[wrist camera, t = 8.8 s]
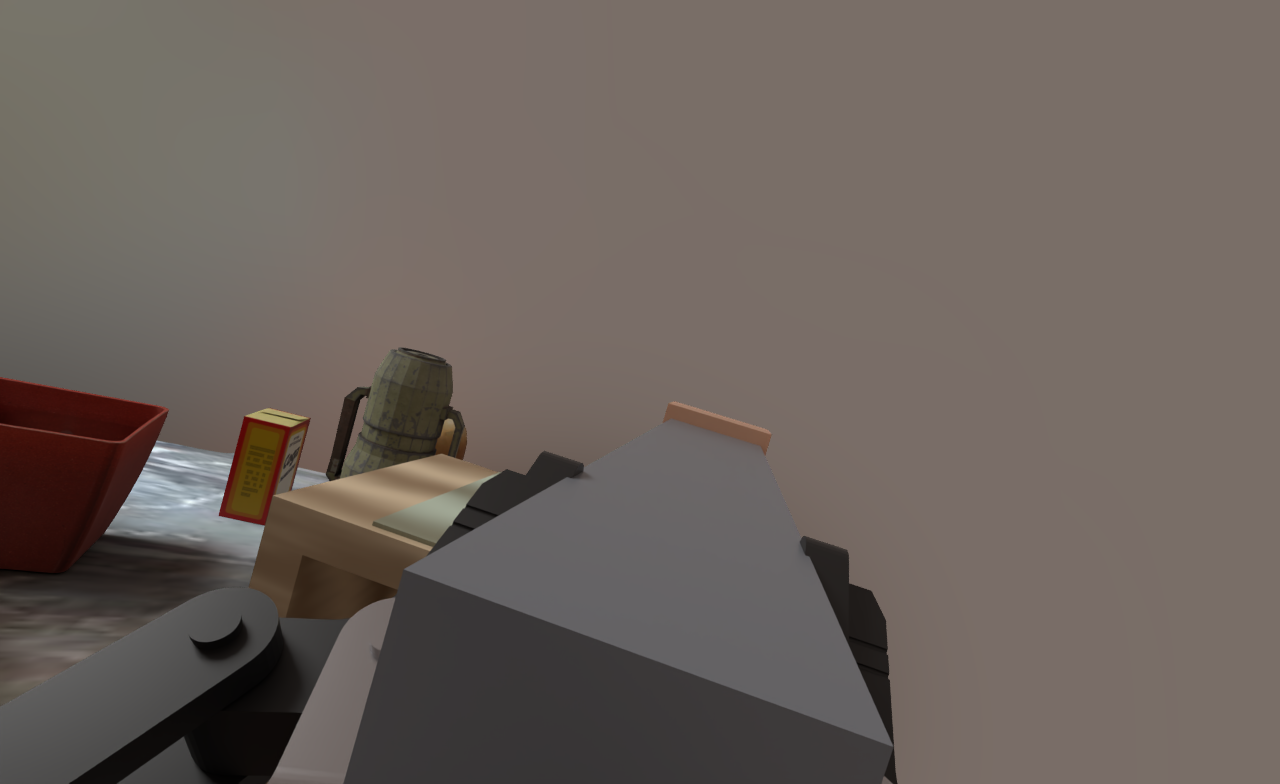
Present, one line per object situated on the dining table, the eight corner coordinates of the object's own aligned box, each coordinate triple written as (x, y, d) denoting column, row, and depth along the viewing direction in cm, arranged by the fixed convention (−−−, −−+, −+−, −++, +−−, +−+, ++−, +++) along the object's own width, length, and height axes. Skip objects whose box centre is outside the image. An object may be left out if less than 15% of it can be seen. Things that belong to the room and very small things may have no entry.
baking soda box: (264, 525, 98) (291, 425, 97) (218, 515, 97) (244, 413, 96) (286, 507, 107) (311, 415, 106) (245, 498, 106) (269, 405, 105)
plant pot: (-166, 572, 61) (-128, 401, 60) (-49, 505, 78) (-17, 372, 77) (85, 593, 69) (122, 442, 68) (141, 528, 86) (171, 408, 85)
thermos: (288, 646, 70) (371, 335, 68) (399, 667, 72) (483, 366, 70) (254, 693, 61) (349, 338, 59) (381, 714, 63) (476, 373, 61)
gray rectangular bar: (772, 1249, 5) (959, 685, 5) (247, 998, 6) (390, 488, 5) (739, 522, 31) (767, 429, 30) (647, 492, 31) (674, 401, 31)
